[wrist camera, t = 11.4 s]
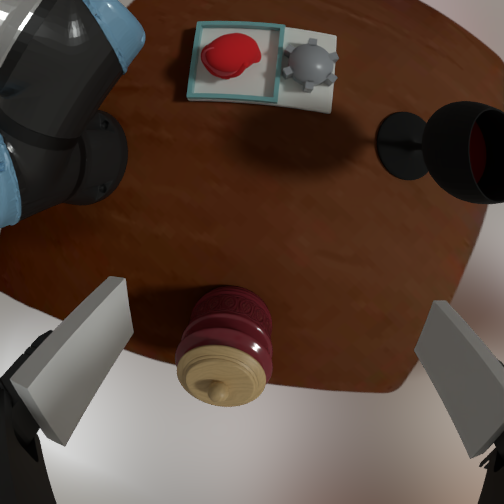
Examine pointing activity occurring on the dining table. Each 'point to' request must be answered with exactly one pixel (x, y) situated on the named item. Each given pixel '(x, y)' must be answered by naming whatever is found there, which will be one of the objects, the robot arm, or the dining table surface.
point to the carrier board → (269, 67)
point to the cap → (230, 55)
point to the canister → (226, 348)
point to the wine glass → (449, 149)
